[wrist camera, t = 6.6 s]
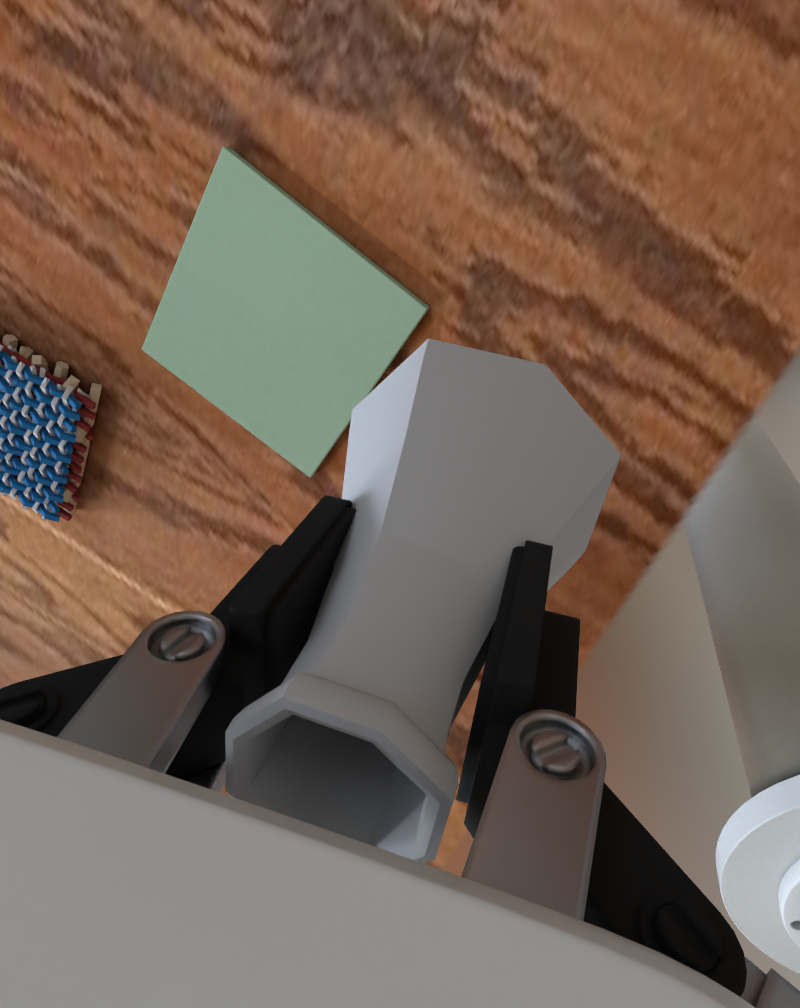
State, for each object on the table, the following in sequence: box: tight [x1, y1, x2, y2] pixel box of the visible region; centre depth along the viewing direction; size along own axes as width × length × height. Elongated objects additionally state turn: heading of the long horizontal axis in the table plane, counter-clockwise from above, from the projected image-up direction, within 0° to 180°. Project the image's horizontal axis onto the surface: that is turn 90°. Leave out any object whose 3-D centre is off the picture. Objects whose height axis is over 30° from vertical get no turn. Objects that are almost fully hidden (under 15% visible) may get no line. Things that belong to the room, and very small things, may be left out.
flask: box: [225, 338, 621, 863], centre depth 12 cm, size 7×7×10 cm
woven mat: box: [0, 334, 102, 522], centre depth 36 cm, size 10×11×2 cm
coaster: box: [142, 146, 429, 478], centre depth 29 cm, size 11×11×1 cm
